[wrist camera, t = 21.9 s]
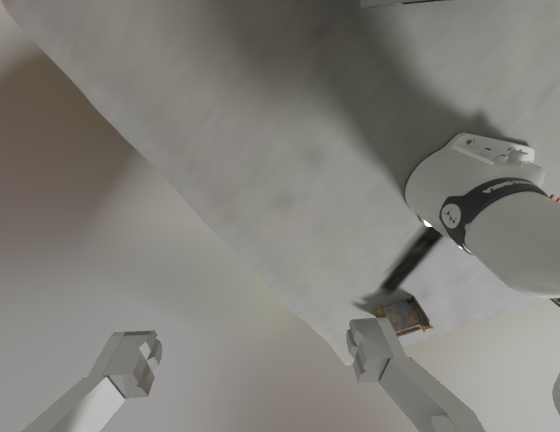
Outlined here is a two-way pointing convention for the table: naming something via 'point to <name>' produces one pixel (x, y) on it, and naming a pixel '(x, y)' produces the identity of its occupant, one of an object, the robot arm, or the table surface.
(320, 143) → the table surface
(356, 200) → the table surface
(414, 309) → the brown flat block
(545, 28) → the table surface
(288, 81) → the table surface
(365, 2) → the alarm clock
